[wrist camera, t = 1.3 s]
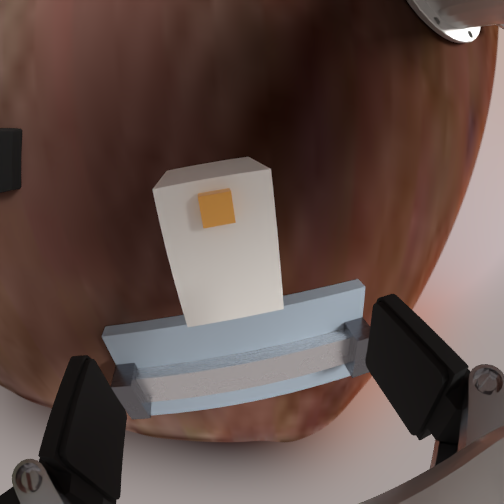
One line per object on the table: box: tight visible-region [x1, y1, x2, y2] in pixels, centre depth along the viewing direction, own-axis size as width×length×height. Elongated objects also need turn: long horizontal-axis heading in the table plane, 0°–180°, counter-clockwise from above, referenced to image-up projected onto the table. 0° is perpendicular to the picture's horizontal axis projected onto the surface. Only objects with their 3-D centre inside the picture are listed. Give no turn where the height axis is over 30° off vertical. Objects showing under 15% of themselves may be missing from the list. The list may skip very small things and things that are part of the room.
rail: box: [111, 317, 370, 419], centre depth 25 cm, size 24×5×3 cm, turn 97°
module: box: [152, 157, 284, 327], centre depth 19 cm, size 6×8×8 cm
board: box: [102, 279, 365, 415], centre depth 27 cm, size 24×12×2 cm, turn 97°
